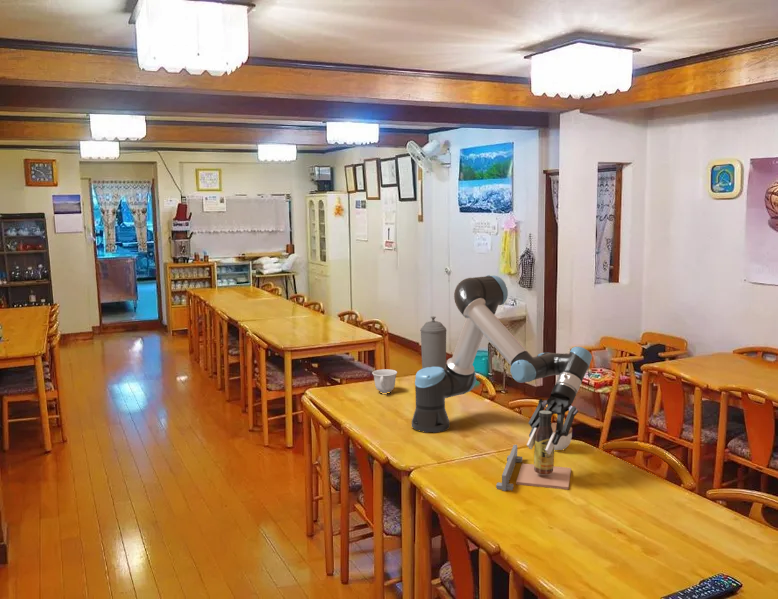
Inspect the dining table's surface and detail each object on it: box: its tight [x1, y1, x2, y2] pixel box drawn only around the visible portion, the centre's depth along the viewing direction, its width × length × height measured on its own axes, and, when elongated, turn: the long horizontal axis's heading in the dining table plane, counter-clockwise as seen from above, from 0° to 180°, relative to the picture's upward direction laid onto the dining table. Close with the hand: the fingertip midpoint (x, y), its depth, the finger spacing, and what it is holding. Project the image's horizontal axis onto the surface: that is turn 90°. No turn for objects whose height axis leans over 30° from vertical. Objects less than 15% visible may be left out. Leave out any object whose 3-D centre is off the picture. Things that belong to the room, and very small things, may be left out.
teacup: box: [371, 368, 398, 393], centre depth 322 cm, size 12×15×10 cm
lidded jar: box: [551, 422, 573, 451], centre depth 246 cm, size 11×11×9 cm
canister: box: [420, 316, 447, 369], centre depth 329 cm, size 13×13×35 cm
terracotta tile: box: [515, 462, 572, 490], centre depth 220 cm, size 16×16×1 cm
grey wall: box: [495, 444, 523, 492], centre depth 223 cm, size 5×28×5 cm, turn 162°
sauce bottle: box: [533, 409, 555, 474], centre depth 219 cm, size 7×6×20 cm
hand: (538, 449), depth 217 cm, fingers closed on sauce bottle, 6 cm apart
